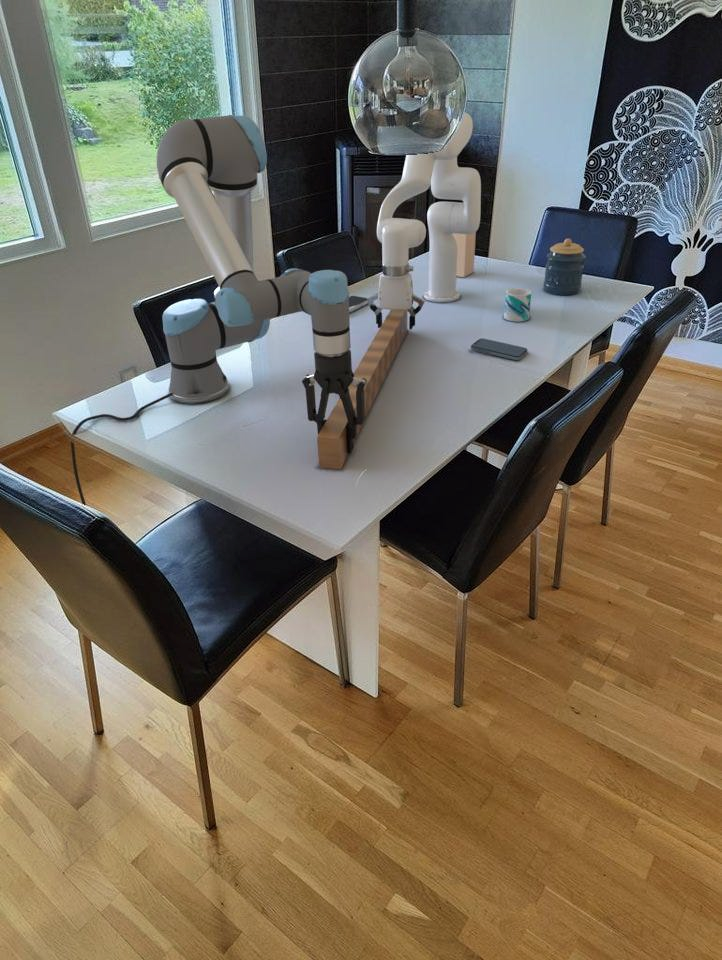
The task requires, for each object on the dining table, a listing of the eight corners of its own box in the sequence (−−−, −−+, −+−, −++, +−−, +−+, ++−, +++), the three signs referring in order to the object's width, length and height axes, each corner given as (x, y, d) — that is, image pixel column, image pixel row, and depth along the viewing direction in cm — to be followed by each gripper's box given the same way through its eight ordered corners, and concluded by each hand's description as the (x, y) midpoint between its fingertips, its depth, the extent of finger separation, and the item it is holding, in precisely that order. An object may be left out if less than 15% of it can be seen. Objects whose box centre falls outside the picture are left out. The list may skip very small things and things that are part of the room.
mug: (499, 319, 216) (501, 293, 211) (513, 308, 224) (516, 283, 220) (524, 323, 212) (526, 296, 207) (537, 311, 220) (540, 286, 216)
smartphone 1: (370, 298, 234) (345, 310, 224) (370, 302, 235) (345, 314, 224) (352, 295, 238) (327, 307, 227) (352, 299, 238) (327, 311, 228)
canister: (554, 297, 232) (561, 245, 222) (536, 286, 243) (541, 236, 233) (587, 292, 235) (595, 240, 225) (568, 282, 245) (574, 232, 236)
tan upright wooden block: (464, 277, 255) (467, 216, 243) (444, 274, 259) (446, 214, 248) (478, 268, 264) (481, 209, 252) (458, 266, 268) (461, 208, 256)
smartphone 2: (518, 357, 186) (469, 345, 193) (518, 362, 187) (469, 351, 194) (528, 347, 191) (480, 337, 198) (528, 353, 192) (480, 342, 199)
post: (340, 469, 143) (338, 438, 138) (319, 467, 144) (316, 436, 139) (407, 330, 211) (407, 307, 207) (392, 329, 212) (392, 306, 208)
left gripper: (379, 345, 137) (381, 444, 150) (296, 341, 141) (304, 437, 154) (371, 359, 131) (374, 461, 144) (284, 354, 135) (294, 454, 147)
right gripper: (427, 267, 195) (425, 324, 204) (369, 265, 199) (370, 321, 208) (423, 274, 189) (422, 332, 198) (363, 272, 193) (365, 330, 202)
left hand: (338, 449), depth 149 cm, fingers closed on post, 5 cm apart
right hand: (395, 327), depth 203 cm, fingers open, 9 cm apart
